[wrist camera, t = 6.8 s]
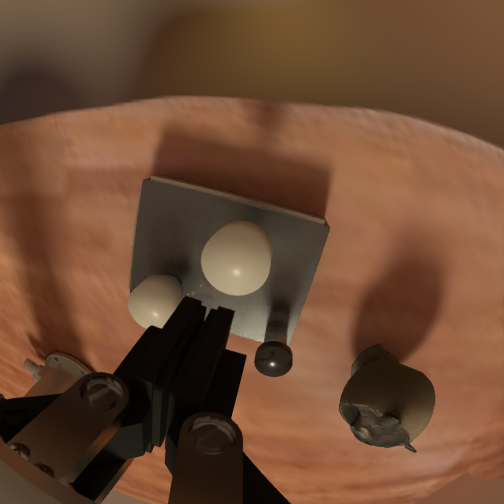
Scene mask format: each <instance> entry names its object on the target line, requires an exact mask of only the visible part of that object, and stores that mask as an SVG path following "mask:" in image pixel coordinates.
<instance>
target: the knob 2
mask: <svg viewBox="0 0 504 504" xmlns="http://www.w3.org/2000/svg"><path fill="white" fill-rule="evenodd" d="M272 252H273V251H272V244H271V241H270V239H269V237H268V235H267V234H266V232H265V231H264V230H263V229H262V228H261V227H259V226H258V225H256V224H254V223H252V222H249V221H242V220H239V221H232V222H229V223H227V224H225V225H223V226H222V227H221V228H220V229H219V230H218V231H217V232H216V233H215V234H214V235H213V236H212V237H211V238H210V240H209V241H208V242H207V243H206V245H205V246H204V249H203V251H202V256H201V266H202V270H203V273H204V275H205V277H206V279H207V280H208V281H209V283H210V284H211V285H212V286H213V287H215V288H216V289H217V290H219V291H221V292H223V293H226V294H229V295H235V296H241V295H246V294H250V293H252V292H254V291H256V290H257V289H259V288H260V287H261V286H262V285H263V284H264V282H265V281H266V279H267V277H268V275H269V271H270V266H271V260H272Z"/></svg>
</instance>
